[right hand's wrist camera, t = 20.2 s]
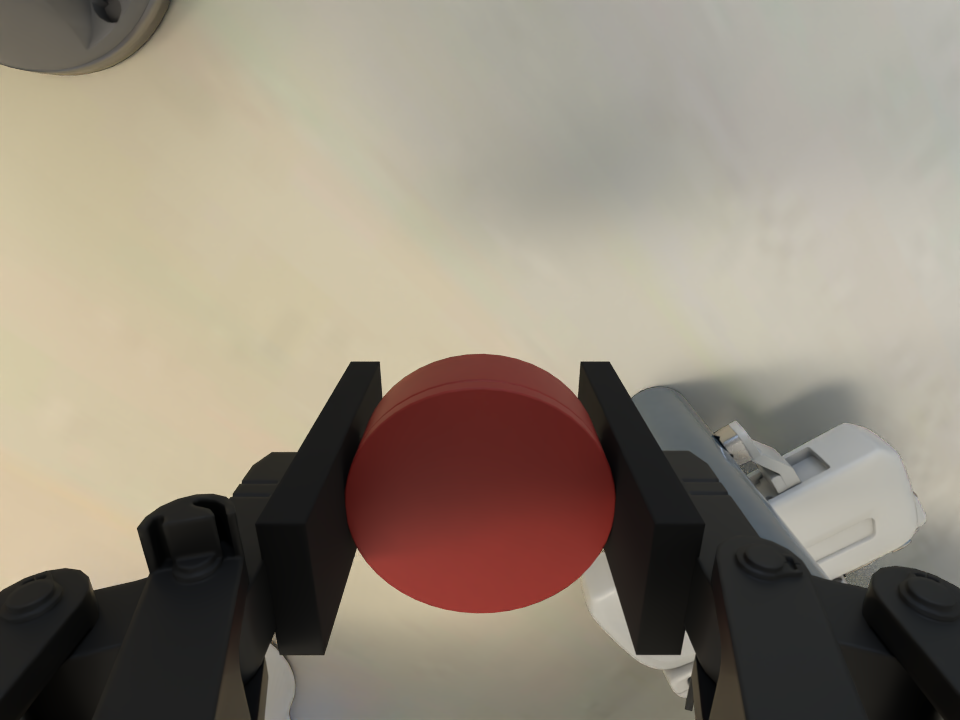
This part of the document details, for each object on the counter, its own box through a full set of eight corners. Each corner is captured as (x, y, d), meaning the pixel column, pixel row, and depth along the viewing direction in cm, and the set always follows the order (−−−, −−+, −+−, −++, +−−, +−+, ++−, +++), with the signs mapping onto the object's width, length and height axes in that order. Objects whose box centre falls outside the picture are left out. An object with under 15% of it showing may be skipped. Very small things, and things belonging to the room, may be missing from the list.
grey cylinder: (608, 429, 38) (716, 670, 21) (647, 375, 37) (800, 587, 19) (662, 457, 39) (811, 711, 22) (703, 405, 38) (899, 634, 20)
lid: (625, 518, 13) (647, 572, 11) (419, 581, 13) (410, 640, 12) (555, 316, 11) (568, 347, 9) (320, 401, 12) (295, 443, 10)
